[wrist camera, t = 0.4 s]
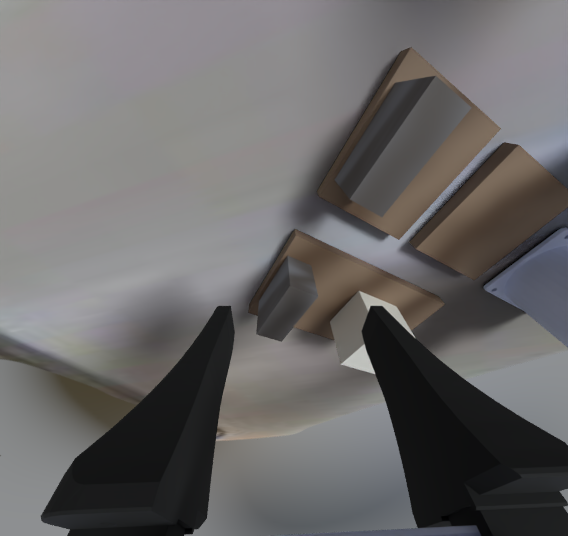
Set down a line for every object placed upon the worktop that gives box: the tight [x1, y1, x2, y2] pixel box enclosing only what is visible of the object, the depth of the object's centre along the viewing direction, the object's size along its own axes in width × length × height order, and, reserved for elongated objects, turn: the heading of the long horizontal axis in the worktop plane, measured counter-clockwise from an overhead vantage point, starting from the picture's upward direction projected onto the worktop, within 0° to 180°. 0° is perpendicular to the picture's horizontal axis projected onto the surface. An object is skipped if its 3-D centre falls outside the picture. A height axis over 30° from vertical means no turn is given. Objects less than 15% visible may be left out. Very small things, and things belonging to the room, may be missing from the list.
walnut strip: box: [248, 229, 445, 342], centre depth 22 cm, size 18×10×5 cm, turn 62°
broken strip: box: [317, 47, 568, 280], centre depth 16 cm, size 18×9×5 cm, turn 62°
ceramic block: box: [330, 291, 415, 374], centre depth 22 cm, size 5×5×5 cm
